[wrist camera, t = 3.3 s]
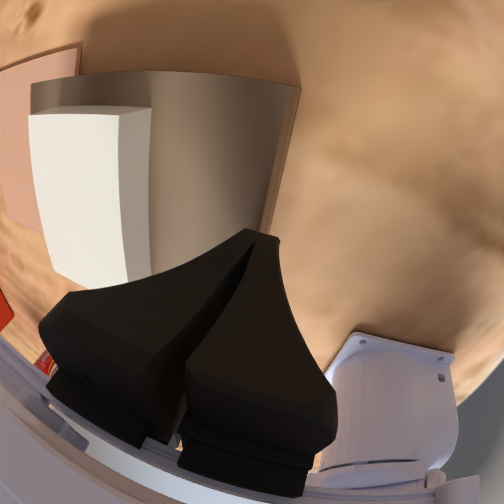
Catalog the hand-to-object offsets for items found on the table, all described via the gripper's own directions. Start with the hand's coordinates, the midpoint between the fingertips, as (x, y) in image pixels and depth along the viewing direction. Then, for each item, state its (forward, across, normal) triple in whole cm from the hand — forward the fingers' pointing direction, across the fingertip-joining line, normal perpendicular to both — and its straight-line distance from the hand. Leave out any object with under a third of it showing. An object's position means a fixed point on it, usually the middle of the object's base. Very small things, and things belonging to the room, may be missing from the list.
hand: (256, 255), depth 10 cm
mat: (+5, +21, 0) cm, 22 cm away
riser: (+5, +7, 0) cm, 9 cm away
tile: (+1, +8, 0) cm, 8 cm away
